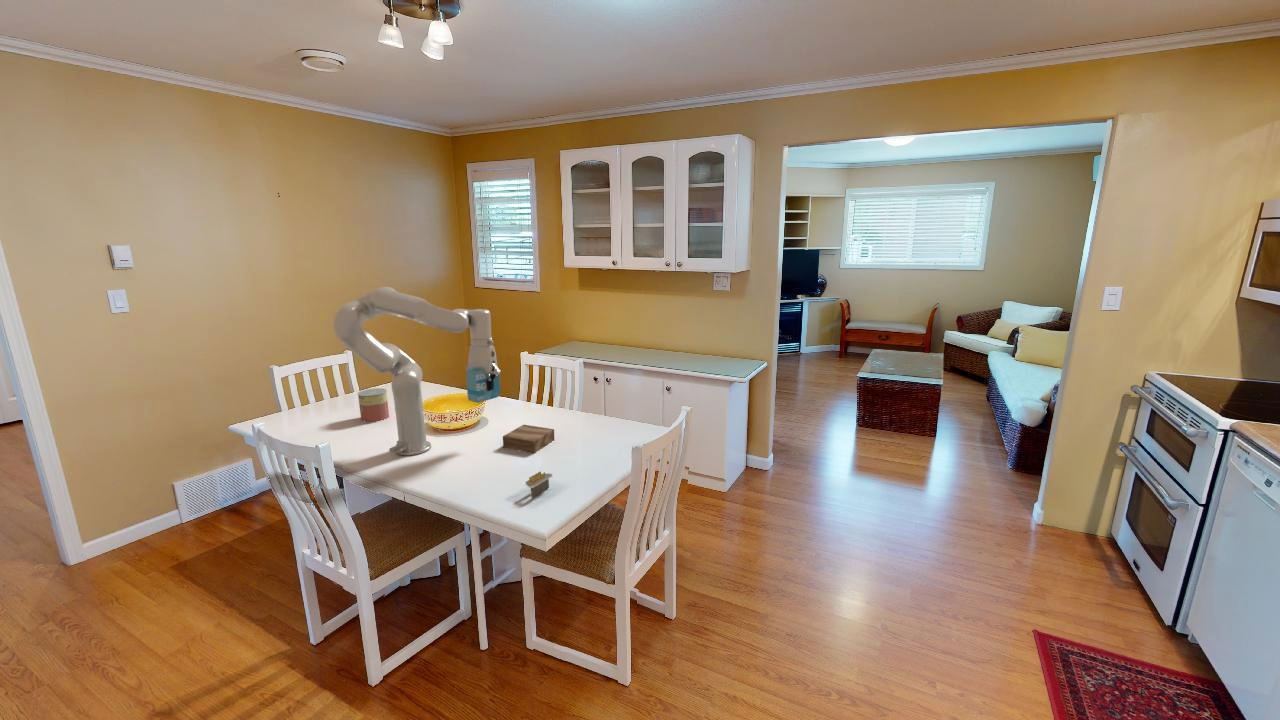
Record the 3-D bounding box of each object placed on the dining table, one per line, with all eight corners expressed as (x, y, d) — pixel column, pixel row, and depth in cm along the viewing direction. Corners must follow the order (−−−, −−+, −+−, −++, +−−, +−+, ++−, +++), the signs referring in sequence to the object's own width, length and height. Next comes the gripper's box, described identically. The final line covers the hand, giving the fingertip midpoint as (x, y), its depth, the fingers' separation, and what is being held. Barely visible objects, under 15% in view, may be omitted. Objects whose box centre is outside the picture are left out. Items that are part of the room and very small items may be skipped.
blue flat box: (475, 403, 204) (473, 372, 201) (467, 401, 207) (465, 370, 204) (500, 396, 214) (499, 366, 211) (492, 394, 216) (491, 364, 214)
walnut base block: (535, 454, 204) (534, 441, 203) (503, 448, 209) (502, 436, 208) (554, 441, 216) (554, 429, 215) (524, 436, 222) (523, 424, 220)
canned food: (361, 416, 244) (358, 390, 241) (389, 412, 249) (386, 387, 246) (360, 424, 234) (357, 397, 231) (389, 420, 239) (386, 393, 236)
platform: (504, 500, 169) (503, 481, 167) (542, 478, 184) (541, 460, 182) (534, 510, 163) (533, 490, 162) (571, 487, 178) (570, 468, 177)
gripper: (506, 342, 206) (508, 389, 210) (468, 339, 212) (471, 384, 216) (494, 346, 199) (497, 394, 203) (455, 342, 205) (458, 389, 209)
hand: (483, 388), depth 209 cm, fingers closed on blue flat box, 5 cm apart
